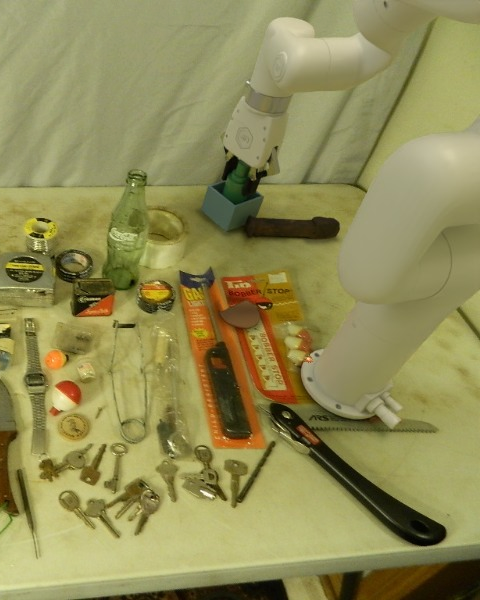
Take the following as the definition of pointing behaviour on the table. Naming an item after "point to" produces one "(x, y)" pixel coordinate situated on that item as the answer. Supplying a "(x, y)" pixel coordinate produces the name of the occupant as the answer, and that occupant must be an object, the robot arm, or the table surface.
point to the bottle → (237, 183)
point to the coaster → (241, 315)
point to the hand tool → (293, 227)
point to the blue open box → (229, 207)
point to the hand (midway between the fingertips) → (238, 185)
